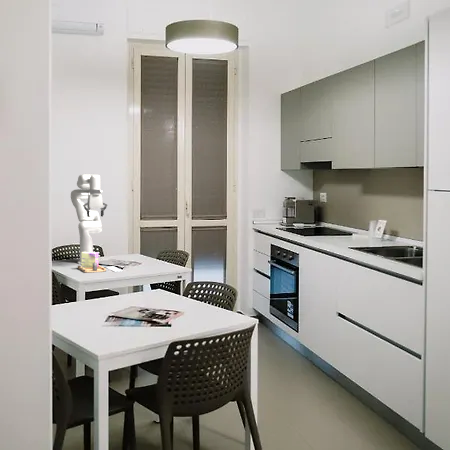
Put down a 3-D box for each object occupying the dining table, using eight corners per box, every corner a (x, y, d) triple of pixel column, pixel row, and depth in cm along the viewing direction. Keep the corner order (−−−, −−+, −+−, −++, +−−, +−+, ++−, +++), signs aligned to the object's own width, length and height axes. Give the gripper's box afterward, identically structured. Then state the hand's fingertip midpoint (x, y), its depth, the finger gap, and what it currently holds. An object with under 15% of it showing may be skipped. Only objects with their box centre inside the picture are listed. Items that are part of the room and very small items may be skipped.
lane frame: (77, 268, 415) (77, 259, 415) (97, 267, 422) (97, 258, 421) (85, 272, 398) (85, 263, 397) (105, 271, 404) (105, 262, 404)
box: (98, 268, 415) (98, 252, 414) (95, 270, 409) (95, 253, 408) (84, 268, 416) (84, 251, 415) (81, 269, 411) (81, 252, 409)
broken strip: (105, 267, 421) (105, 266, 421) (114, 267, 424) (114, 266, 424) (114, 271, 403) (114, 271, 403) (122, 271, 406) (122, 270, 406)
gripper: (105, 192, 422) (105, 215, 423) (81, 192, 414) (81, 216, 415) (108, 192, 415) (108, 216, 417) (84, 192, 407) (84, 217, 408)
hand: (95, 216), depth 416 cm, fingers open, 9 cm apart
